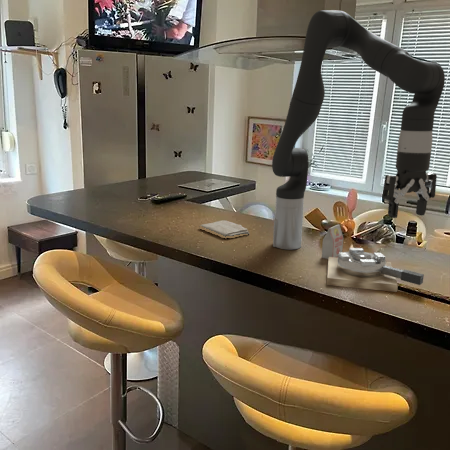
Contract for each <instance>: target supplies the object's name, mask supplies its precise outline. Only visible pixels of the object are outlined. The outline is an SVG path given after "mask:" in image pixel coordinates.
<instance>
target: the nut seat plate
mask: <svg viewBox="0 0 450 450" xmlns="http://www.w3.org/2000/svg"><path fill="white" fill-rule="evenodd" d="M327 260H328V261H327V277H326V285H327V286H337V287H342V288H343V287H345V288H353V289H354V288H355V289H365V290H374V291H375V290H376V291H386V292H396V293H397V292H398V287H399V284H398V281H397V278H396V277H392V276H388V275H385V274H383V275H381V276H377V277H358V276H353V275H349V274H346V273H343V272H341V271H340V270H339V269H338V268H337V261H338V257H337V258H336V257H329V259H327ZM385 266H389V267H392V268H393V266H392V262H391V261H386V265H385Z"/></svg>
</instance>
